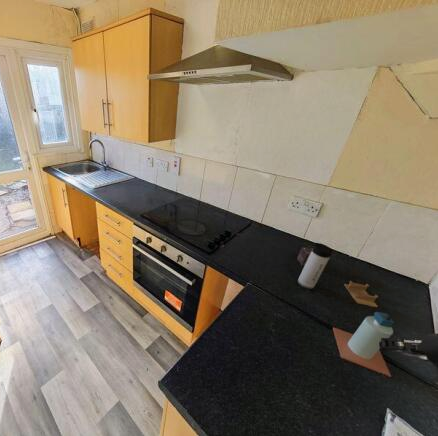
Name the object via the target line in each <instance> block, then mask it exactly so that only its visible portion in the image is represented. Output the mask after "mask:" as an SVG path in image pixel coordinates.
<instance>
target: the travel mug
mask: <svg viewBox="0 0 438 436" xmlns="http://www.w3.org/2000/svg"><path fill="white" fill-rule="evenodd" d="M312 249H313V250H312V252H311V254H310V256H309V258H308V260H307V262H306V264H305V266H303V268H302V271H301V273H300V274H299V277H298V279H297V282H298V284H299V285H300V286H301V287H303V288H306V289H310V290H311V289H314V288H315V286H316V285H317V283H318V281H319V279H320V277H321V275H322V274H323V271H324V269H325V268H326V267H327V266H326V265H327V264H328V262H329V260H330V258H331V255H332V254H333V250H332V248H331V247H329V246H328V245H326V244H324V243H321V242H314V243H313V248H312Z"/></svg>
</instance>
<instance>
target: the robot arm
mask: <svg viewBox="0 0 438 436" xmlns="http://www.w3.org/2000/svg"><path fill="white" fill-rule="evenodd" d="M379 347H380V349H379V350H380V351H383V352H391V353H399V354H402V355H404V356H405V357H411V358H417V359H420V360H421V361H424V362H431V363H432V364H433V365H435V366H436V367H437V368H438V333H429V334H427V335H425V336H424V337H423V339H422V340H418V339H415V340H407V339H404V338H402V337H389V338H381V341H380V342H379ZM408 349H409V350H410V352H411V353H410V352H408Z"/></svg>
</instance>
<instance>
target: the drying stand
mask: <svg viewBox="0 0 438 436" xmlns="http://www.w3.org/2000/svg"><path fill="white" fill-rule="evenodd" d="M343 285H344V287H345V288H346V290H347V291H348V292H349V294H350V295H351V297H352V298H353V300H354V301H355V302H356V303H357V304H360V305H364V306H368V307H372V308H373V307H374V308H378V307H379V306H378V305H377V303H376V302H375V301H377V299H378V298H379V295H377V294H374V295H371V294H369V293H368V292H367V289H368V288H369V287H370V284H368V283H366V284H360V283H356V282H353V281H352V280H349V284H348V283H344V284H343Z"/></svg>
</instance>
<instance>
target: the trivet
mask: <svg viewBox="0 0 438 436" xmlns="http://www.w3.org/2000/svg"><path fill="white" fill-rule="evenodd" d="M332 332H333V334H334V338H335V342H336V345H337V348H338V352H339V355H340V358H341V359H342V360H345V361H348V362H351V363H353V364H355V365H358V366H361V367H363V368H365V369H369V370H371V371H373V372H377V373H379V374H381V373H382V374H381V375H384V374H385V375H384V376H386V375H387V376H386V377H388V378H391V377H392V375H391V372H390V370H389V368H388V366H387V363H386V361H385V359H384V357H383V354H382V353H381V349H379V350H378V351H377V353H376V354H375V355H374V356H373V357H372V358H371V359H364V358H362V357H360V356H358V355H356V354H355V353H354V352H353V351H352V350H351V349H350V348H349V346H348V342H349V340H350V339H351V337H352V336H353V335H354V333H350V332H347V331H345V330H342V329H339V328H336V327H334V326H333V327H332Z"/></svg>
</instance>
